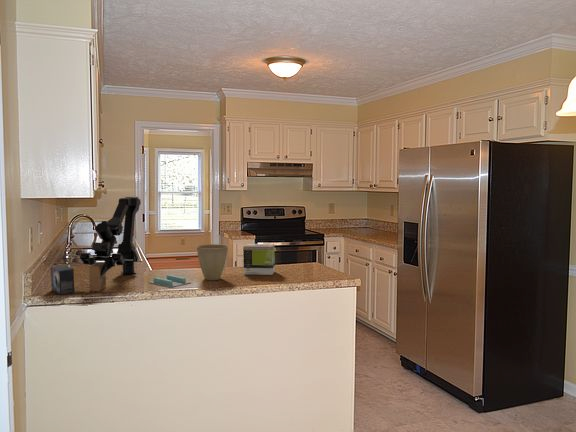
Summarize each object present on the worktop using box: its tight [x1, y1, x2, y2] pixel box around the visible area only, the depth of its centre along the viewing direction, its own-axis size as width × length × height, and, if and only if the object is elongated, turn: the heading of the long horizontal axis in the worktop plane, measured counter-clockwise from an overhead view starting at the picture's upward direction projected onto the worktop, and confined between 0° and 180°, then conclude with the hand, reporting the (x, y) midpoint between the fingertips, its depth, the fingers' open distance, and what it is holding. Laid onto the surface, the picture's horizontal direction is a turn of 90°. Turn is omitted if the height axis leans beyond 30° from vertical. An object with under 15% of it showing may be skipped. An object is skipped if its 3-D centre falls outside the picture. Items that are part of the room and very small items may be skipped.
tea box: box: [242, 243, 276, 276], centre depth 250 cm, size 15×10×15 cm, turn 84°
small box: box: [50, 264, 76, 296], centre depth 208 cm, size 11×6×10 cm, turn 45°
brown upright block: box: [88, 262, 107, 292], centre depth 213 cm, size 7×4×11 cm, turn 176°
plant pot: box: [196, 243, 229, 281], centre depth 236 cm, size 15×15×16 cm
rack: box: [147, 274, 192, 289], centre depth 226 cm, size 16×12×2 cm
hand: (96, 274), depth 211 cm, fingers closed on brown upright block, 4 cm apart
